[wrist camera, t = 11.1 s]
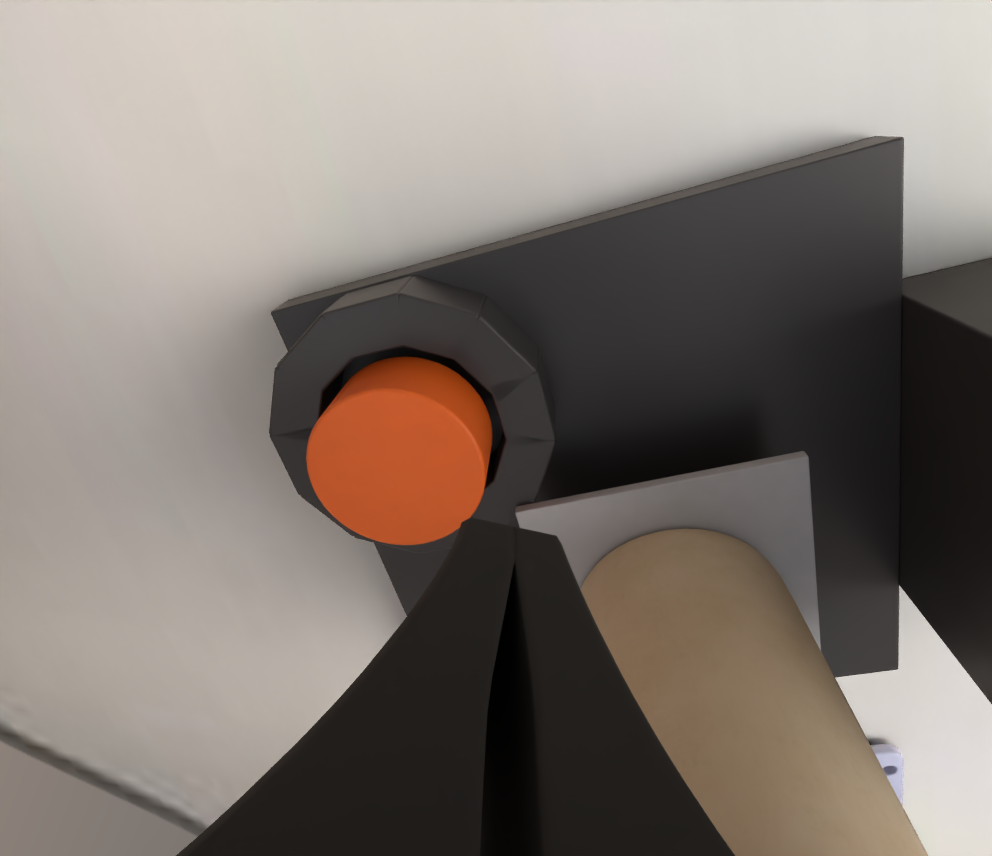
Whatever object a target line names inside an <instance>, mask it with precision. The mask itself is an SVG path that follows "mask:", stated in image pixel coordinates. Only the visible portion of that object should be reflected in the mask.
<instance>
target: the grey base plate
mask: <svg viewBox="0 0 992 856" xmlns="http://www.w3.org/2000/svg"><path fill="white" fill-rule="evenodd" d="M903 159H904V139H903V137H883V136H875V137H871V138H867V139H864V140H860V141H857V142H853V143H849V144H846V145H842V146H839V147H835V148H832V149H828V150H824V151H821V152H817V153H814V154H810V155H806V156H803V157H799V158H796V159H792V160H789V161H785V162H781V163H778V164H774V165H771V166H767V167H763V168H760V169H756V170H753V171H749V172H746V173H742V174H738V175H735V176H731V177H728V178H724V179H720V180H717V181H713V182H710V183H706V184H703V185H699V186H695V187H692V188H688V189H685V190H681V191H677V192H674V193H670V194H667V195H663V196H660V197H656V198H652V199H649V200H645V201H642V202H638V203H634V204H631V205H627V206H624V207H620V208H617V209H613V210H609V211H606V212H602V213H599V214H595V215H591V216H588V217H584V218H581V219H577V220H574V221H570V222H566V223H563V224H559V225H556V226H552V227H548V228H545V229H541V230H538V231H534V232H531V233H527V234H523V235H520V236H516V237H513V238H509V239H505V240H502V241H498V242H495V243H491V244H488V245H484V246H480V247H477V248H473V249H470V250H466V251H462V252H459V253H455V254H452V255H448V256H445V257H441V258H437V259H434V260H430V261H427V262H423V263H419V264H416V265H412V266H409V267H405V268H401V269H398V270H394V271H391V272H387V273H384V274H380V275H376V276H373V277H369V278H366V279H362V280H358V281H355V282H351V283H348V284H344V285H341V286H337V287H333V288H330V289H326V290H323V291H319V292H315V293H312V294H308V295H305V296H301V297H298V298H294V299H290V300H288V301H286V302H285V303H283V304H282V305H280V306H279V307H277V308H276V309H275V310H273V311H272V312H271V314H272V317H273V319H274V321H275V323H276V326H277V328H278V330H279V332H280V335H281V337H282V339H283V341H284V343H285V346H286V348H287V350H288V352H287V354H286V355H285V356H284V357H283V358H282V359H281V361H280V362H279V363H278V365H277V367H276V368H275V372H274V384H273V395H272V406H271V417H270V429H269V434H270V438H271V440H272V442H273V444H274V446H275V448H276V450H277V452H278V454H279V456H280V458H281V460H282V462H283V464H284V466H285V468H286V470H287V472H288V474H289V476H290V478H291V480H292V482H293V484H294V486H295V488H296V490H297V492H298V494H299V495H301V497H302V498H304V499H305V500H306V501H307V502H309V503H310V504H311V505H313V506H314V507H315V508H317V509H318V510H319V511H320V512H322V513H323V514H324V515H326V516H327V517H328V518H330V519H331V520H332V521H333V522H335V523H336V524H337V525H339V526H340V527H341V528H343V529H344V530H345V531H346V532H348V533H349V534H350V535H352V536H355V538H358V539H362V540H366V541H370V542H374V544H375V546H376V548H377V550H378V553H379V555H380V557H381V559H382V562H383V564H384V566H385V568H386V571H387V573H388V575H389V577H390V579H391V582H392V584H393V586H394V588H395V591H396V593H397V595H398V597H399V599H400V602H401V604H402V606H403V608H404V611H405V613H406V615H407V616H408V615H409V613H410V612H411V610H412V609H413V607H414V606H415V605H416V603H417V602H418V600H419V599H420V597H421V596H422V594H423V593H424V592H425V590H426V589H427V587H428V586H429V584H430V583H431V581H432V580H433V579H434V577H435V575H436V574H437V572H438V570H439V569H440V567H441V565H442V564H443V562H444V560H445V559H446V557H447V555H448V553H449V552H450V550H451V548H452V546H453V544H454V542H455V539H456V537H457V535H458V532H459V529H460V528H458V529H457V530H456V531H454V532H453V533H451V534H449V535H447V536H445V537H443V538H441V539H438V540H435V541H432V542H428V543H424V544H417V545H395V544H388V543H383V542H379V541H375V540H372V539H369V538H367V537H364V536H362V535H360V534H358V533H356V532H354V531H352V530H351V529H349V528H348V527H346V526H345V525H343V524H342V523H340V522H339V521H338V520H337V519H336V518H335V517H334V516H332V514H331V513H330V512H329V511H328V510H327V509H326V508H325V507H324V505H323V504H322V503H321V501H320V500H319V498H318V496H317V495H316V493H315V491H314V489H313V487H312V484H311V482H310V478H309V474H308V470H307V461H306V455H307V445H308V440H309V437H310V434H311V432H312V429H313V427H314V426H315V424H316V422H317V420H318V419H319V418H320V416H321V415H322V414H323V413H324V411H325V410H326V409H327V407H328V406H329V405H330V403H331V402H332V401H333V400H334V398H335V397H336V396H337V394H338V393H339V392H340V390H341V389H342V388H343V387H344V385H345V384H346V383H347V382H348V380H349V379H350V378H351V377H352V376H353V375H354V374H356V373H357V372H358V371H360V370H361V369H363V368H364V367H366V366H368V365H370V364H372V363H374V362H377V361H380V360H383V359H387V358H393V357H418V358H423V359H428V360H431V361H434V362H437V363H440V364H442V365H444V366H446V367H448V368H450V369H451V370H453V371H455V372H456V373H458V374H459V375H460V376H462V377H463V378H464V379H465V380H467V381H468V382H469V383H470V384H471V386H472V387H473V388H474V389H475V390H476V391H477V393H478V394H479V395H480V397H481V398H482V400H483V402H484V404H485V406H486V408H487V411H488V413H489V416H490V420H491V424H492V447H491V453H490V459H489V465H488V471H487V477H486V483H485V488H484V493H483V496H482V498H481V501H480V503H479V505H478V507H477V509H476V510H475V512H474V513H473V515H472V516H471V517H472V518H477V519H481V520H486V521H491V522H495V523H500V524H505V525H509V526H514V527H519V523H518V520H517V517H516V514H515V510H516V507H517V506H522V505H527V504H532V503H537V502H542V501H547V500H553V499H558V498H563V497H568V496H573V495H578V494H583V493H589V492H594V491H599V490H604V489H609V488H614V487H620V486H625V485H630V484H635V483H640V482H645V481H651V480H656V479H661V478H666V477H671V476H676V475H682V474H687V473H692V472H697V471H702V470H707V469H712V468H718V467H723V466H728V465H733V464H738V463H743V462H749V461H754V460H759V459H764V458H769V457H774V456H780V455H785V454H790V453H795V452H800V451H804V452H805V453H806V454H807V456H808V457H809V473H810V488H811V504H812V520H813V535H814V551H815V566H816V582H817V597H818V613H819V628H820V644H821V652H822V654H823V656H824V658H825V660H826V662H827V664H828V666H829V667H830V669H831V671H832V673H833V675H834V677H842V676H850V675H858V674H865V673H873V672H881V671H889V670H897V669H898V637H899V541H900V446H901V350H902V255H903ZM471 517H470V518H471ZM519 528H520V527H519Z"/></svg>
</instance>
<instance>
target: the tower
mask: <svg viewBox="0 0 992 856" xmlns="http://www.w3.org/2000/svg"><path fill="white" fill-rule="evenodd" d="M515 514H516V517H517V520H518V523H519V527H520V528H523V529H528V530H532V531H537V532H542V533H546V534H551V535H556V536H557V537H558V539H559V540H560V542H561V544H562V546H563V548H564V551H565V554H566V556H567V559H568V561H569V564H570V566H571V569H572V571H573V573H574V576H575V578H576V580H577V583H578V585H579V587H580V590H581V587H582V585H583V583H584V581H585V579H586V578H587V576H588V574H589V573H590V571H591V570H592V569H593V568H594V567H595V566H596V564H597V563H598V562H599V561H600V560H602V559H603V558H604V557H605V556H606V555H607V554H609V553H610V552H612V551H613V550H614V549H616V548H617V547H619V546H621V545H623V544H625V543H627V542H628V541H631V540H633V539H636V538H638V537H641V536H644V535H647V534H651V533H654V532H659V531H665V530H672V529H702V530H709V531H715V532H719V533H722V534H726V535H729V536H732V537H734V538H737V539H739V540H741V541H743V542H745V543H747V544H748V545H750V546H752V547H753V548H754V549H756V550H757V551H758V552H760V553H761V554H762V555H763V556H764V557H765V558H766V559H767V560H768V561H769V562H770V563H771V564H772V566H773V567H774V568H775V569H776V571H777V572H778V573H779V575H780V576H781V578H782V579H783V581H784V583H785V585H786V586H787V588H788V590H789V592H790V594H791V595H792V597H793V599H794V601H795V603H796V605H797V606H798V608H799V610H800V612H801V614H802V616H803V618H804V620H805V622H806V624H807V626H808V627H809V629H810V631H811V633H812V635H813V637H814V639H815V641H816V643H817V645H818V646H819V648H820V650H821V644H820V628H819V613H818V597H817V582H816V566H815V551H814V535H813V520H812V504H811V488H810V473H809V457H808V456H807V454H806V453H805V452H804V451H800V452H795V453H790V454H785V455H780V456H774V457H769V458H764V459H759V460H754V461H749V462H743V463H738V464H733V465H728V466H723V467H718V468H712V469H707V470H702V471H697V472H692V473H687V474H682V475H676V476H671V477H666V478H661V479H656V480H651V481H645V482H640V483H635V484H630V485H625V486H620V487H614V488H609V489H604V490H599V491H594V492H589V493H583V494H578V495H573V496H568V497H563V498H558V499H553V500H547V501H542V502H537V503H532V504H527V505H522V506H517V507H516V510H515ZM899 585H900V586H901V587H902V589H903V590H904V591H905V593H906V594H907V595H908V597H909V598H910V599H911V600H912V602H913V603H914V604H915V606H916V607H917V608H918V609H919V611H920V612H921V613H922V615H923V616H924V617H925V618H926V620H927V621H928V622H929V624H930V625H931V626H932V628H933V629H934V630H935V631H936V633H937V634H938V635H939V637H940V638H941V639H942V640H943V642H944V643H945V644H946V646H947V647H948V648H949V649H950V651H951V652H952V653H953V655H954V656H955V657H956V659H957V660H958V661H959V662H960V664H961V665H962V666H963V668H964V669H965V670H966V671H967V673H968V674H969V675H970V677H971V678H972V679H973V681H974V682H975V683H976V684H977V686H978V687H979V688H980V690H981V691H982V692H983V693H984V695H985V696H986V697H987V699H988V700H989V701H990V702H991V704H992V258H991V259H986V260H982V261H978V262H974V263H970V264H965V265H961V266H957V267H953V268H948V269H944V270H940V271H936V272H931V273H927V274H923V275H919V276H915V277H910V278H906V279H902V350H901V446H900V541H899Z"/></svg>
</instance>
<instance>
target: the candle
mask: <svg viewBox="0 0 992 856" xmlns="http://www.w3.org/2000/svg"><path fill="white" fill-rule="evenodd" d="M581 592H582V594H583V596H584V598H585V601H586V603H587V605H588V607H589V610H590V612H591V614H592V616H593V618H594V620H595V622H596V624H597V626H598V629H599V631H600V633H601V635H602V636H603V638H604V640H605V642H606V644H607V646H608V648H609V650H610V652H611V654H612V656H613V658H614V660H615V662H616V664H617V666H618V668H619V670H620V672H621V674H622V676H623V677H624V679H625V681H626V683H627V685H628V687H629V688H630V690H631V692H632V694H633V696H634V698H635V699H636V701H637V703H638V705H639V706H640V708H641V710H642V712H643V713H644V715H645V717H646V718H647V720H648V722H649V724H650V725H651V727H652V729H653V731H654V732H655V734H656V736H657V737H658V739H659V741H660V742H661V744H662V746H663V747H664V749H665V751H666V752H667V754H668V756H669V757H670V759H671V760H672V762H673V764H674V765H675V767H676V768H677V770H678V772H679V773H680V775H681V776H682V778H683V779H684V781H685V783H686V784H687V786H688V787H689V789H690V790H691V792H692V793H693V795H694V796H695V798H696V799H697V801H698V802H699V804H700V805H701V807H702V808H703V810H704V811H705V813H706V814H707V816H708V817H709V819H710V820H711V822H712V823H713V825H714V826H715V828H716V829H717V831H718V832H719V833H720V835H721V836H722V838H723V839H724V840H725V842H726V843H727V845H728V846H729V847H730V849H731V850H732V852H733V853H734V855H735V856H928V854H927V852H926V851H925V849H924V847H923V845H922V843H921V841H920V839H919V837H918V835H917V833H916V831H915V830H914V828H913V826H912V824H911V822H910V820H909V818H908V816H907V814H906V812H905V810H904V809H903V807H902V805H901V803H900V801H899V799H898V797H897V795H896V793H895V791H894V790H893V788H892V786H891V784H890V782H889V780H888V778H887V776H886V774H885V772H884V770H883V769H882V767H881V765H880V763H879V761H878V759H877V757H876V755H875V753H874V751H873V749H872V748H871V746H870V744H869V742H868V740H867V738H866V736H865V734H864V732H863V730H862V728H861V727H860V725H859V723H858V721H857V719H856V717H855V715H854V713H853V711H852V709H851V708H850V706H849V704H848V702H847V700H846V698H845V696H844V694H843V692H842V690H841V688H840V687H839V685H838V683H837V681H836V679H835V677H834V675H833V673H832V671H831V669H830V667H829V666H828V664H827V662H826V660H825V658H824V656H823V654H822V652H821V650H820V648H819V646H818V645H817V643H816V641H815V639H814V637H813V635H812V633H811V631H810V629H809V627H808V626H807V624H806V622H805V620H804V618H803V616H802V614H801V612H800V610H799V608H798V606H797V605H796V603H795V601H794V599H793V597H792V595H791V594H790V592H789V590H788V588H787V586H786V585H785V583H784V581H783V579H782V578H781V576H780V575H779V573H778V572H777V571H776V569H775V568H774V567H773V566H772V564H771V563H770V562H769V561H768V560H767V559H766V558H765V557H764V556H763V555H762V554H761V553H760V552H758V551H757V550H756V549H754V548H753V547H752V546H750V545H748V544H747V543H745V542H743V541H741V540H739V539H737V538H734V537H732V536H729V535H726V534H722V533H719V532H715V531H709V530H702V529H672V530H665V531H659V532H654V533H651V534H647V535H644V536H641V537H638V538H636V539H633V540H631V541H628V542H627V543H625V544H623V545H621V546H619V547H617V548H616V549H614V550H613V551H612V552H610V553H609V554H607V555H606V556H605V557H604V558H603V559H602V560H600V561H599V562H598V563H597V564H596V566H595V567H594V568H593V569H592V570H591V571H590V573H589V574H588V576H587V578H586V579H585V581H584V583H583V585H582V587H581Z"/></svg>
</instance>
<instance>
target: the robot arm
mask: <svg viewBox="0 0 992 856" xmlns="http://www.w3.org/2000/svg"><path fill="white" fill-rule="evenodd" d="M870 746H871V748H872V749H873V751H874V753H875V755H876V757H877V759H878V761H879V763H880V765H881V767H882V769H883V770H884V772H885V774H886V776H887V778H888V780H889V782H890V784H891V786H892V788H893V790H894V791H895V793H896V795H897V797H898V799H899V801H900V803H901V805H902V801H903V757H902V755H901V753H900V751H899V749H898V748H897V747H896V746H894V745H891V744H878V745H870ZM176 856H735V855H734V853H733V852H732V850H731V849H730V847H729V846H728V845H727V843H726V842H725V840H724V839H723V838H722V836H721V835H720V833H719V832H718V831H717V829H716V828H715V826H714V825H713V823H712V822H711V820H710V819H709V817H708V816H707V814H706V813H705V811H704V810H703V808H702V807H701V805H700V804H699V802H698V801H697V799H696V798H695V796H694V795H693V793H692V792H691V790H690V789H689V787H688V786H687V784H686V783H685V781H684V779H683V778H682V776H681V775H680V773H679V772H678V770H677V768H676V767H675V765H674V764H673V762H672V760H671V759H670V757H669V756H668V754H667V752H666V751H665V749H664V747H663V746H662V744H661V742H660V741H659V739H658V737H657V736H656V734H655V732H654V731H653V729H652V727H651V725H650V724H649V722H648V720H647V718H646V717H645V715H644V713H643V712H642V710H641V708H640V706H639V705H638V703H637V701H636V699H635V698H634V696H633V694H632V692H631V690H630V688H629V687H628V685H627V683H626V681H625V679H624V677H623V676H622V674H621V672H620V670H619V668H618V666H617V664H616V662H615V660H614V658H613V656H612V654H611V652H610V650H609V648H608V646H607V644H606V642H605V640H604V638H603V636H602V635H601V633H600V631H599V629H598V626H597V624H596V622H595V620H594V618H593V616H592V614H591V612H590V610H589V607H588V605H587V603H586V601H585V598H584V596H583V594H582V592H581V590H580V587H579V585H578V583H577V580H576V578H575V576H574V573H573V571H572V569H571V566H570V564H569V561H568V559H567V556H566V554H565V551H564V548H563V546H562V544H561V542H560V540H559V539H558V537H557V536H556V535H551V534H546V533H542V532H537V531H532V530H528V529H523V528H519V527H514V526H509V525H505V524H500V523H495V522H491V521H486V520H481V519H477V518H472V517H471V518H469V519H467V520H465V521H463V522H461V526H460V529H459V532H458V535H457V537H456V539H455V542H454V544H453V546H452V548H451V550H450V552H449V553H448V555H447V557H446V559H445V560H444V562H443V564H442V565H441V567H440V569H439V570H438V572H437V574H436V575H435V577H434V579H433V580H432V581H431V583H430V584H429V586H428V587H427V589H426V590H425V592H424V593H423V594H422V596H421V597H420V599H419V600H418V602H417V603H416V605H415V606H414V607H413V609H412V610H411V612H410V613H409V615H408V616H407V617H406V619H405V620H404V621H403V623H402V624H401V625H400V626H399V628H398V629H397V630H396V631H395V633H394V634H393V635H392V636H391V638H390V639H389V640H388V641H387V643H386V644H385V645H384V646H383V647H382V649H381V650H380V651H379V652H378V654H377V655H376V656H375V657H374V659H373V660H372V661H371V662H370V664H369V665H368V666H367V667H366V668H365V670H364V671H363V672H362V673H361V674H360V675H359V677H358V678H357V679H356V680H355V681H354V682H353V683H352V685H351V686H350V687H349V688H348V689H347V690H346V691H345V692H344V694H343V695H342V696H341V697H340V698H339V699H338V700H337V701H336V702H335V703H334V705H333V706H332V707H331V708H330V709H329V710H328V711H327V712H326V713H325V714H324V715H323V716H322V717H321V718H320V719H319V720H318V721H317V723H316V724H315V725H314V726H313V727H312V728H311V729H310V730H309V731H308V732H307V733H306V734H305V735H304V736H303V737H302V738H301V739H300V740H299V741H298V742H297V743H296V744H295V745H294V746H293V747H292V748H291V749H290V750H289V751H288V752H287V753H286V754H285V755H284V756H283V757H282V758H281V759H280V760H279V761H278V762H277V763H276V764H275V765H274V766H273V767H272V768H271V769H270V770H269V771H268V772H267V773H266V774H265V775H264V776H262V777H261V778H260V779H259V780H258V781H257V782H256V783H255V784H254V785H253V786H252V787H251V788H250V789H249V790H248V791H247V792H246V793H245V794H244V795H243V796H242V797H241V798H240V799H239V800H238V801H237V802H235V803H234V804H233V805H232V806H231V807H230V808H229V809H228V810H227V811H226V812H225V813H224V814H222V815H221V816H220V817H219V818H218V819H217V820H216V821H215V822H214V823H213V824H212V825H210V826H209V827H208V828H207V829H206V830H205V831H204V832H203V833H202V834H201V835H199V836H198V837H197V838H196V839H195V840H194V841H193V842H191V843H190V844H189V845H188V846H187V847H186V848H185V849H183V850H182V851H181V852H180V853H179V854H177V855H176Z"/></svg>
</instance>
